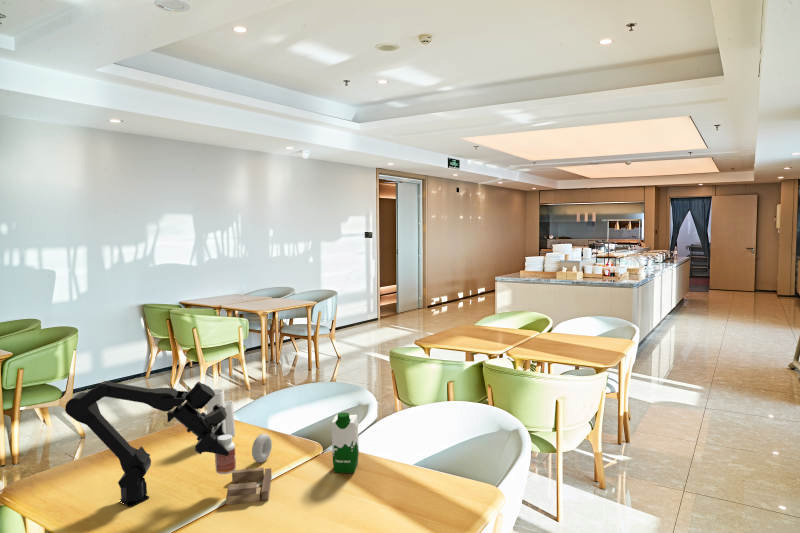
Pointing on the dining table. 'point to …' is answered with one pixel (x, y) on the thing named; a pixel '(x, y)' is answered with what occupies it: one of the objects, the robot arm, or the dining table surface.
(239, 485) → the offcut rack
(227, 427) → the vase
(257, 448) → the grey rounded piece
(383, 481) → the dining table surface
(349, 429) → the milk carton
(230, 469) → the pill bottle
